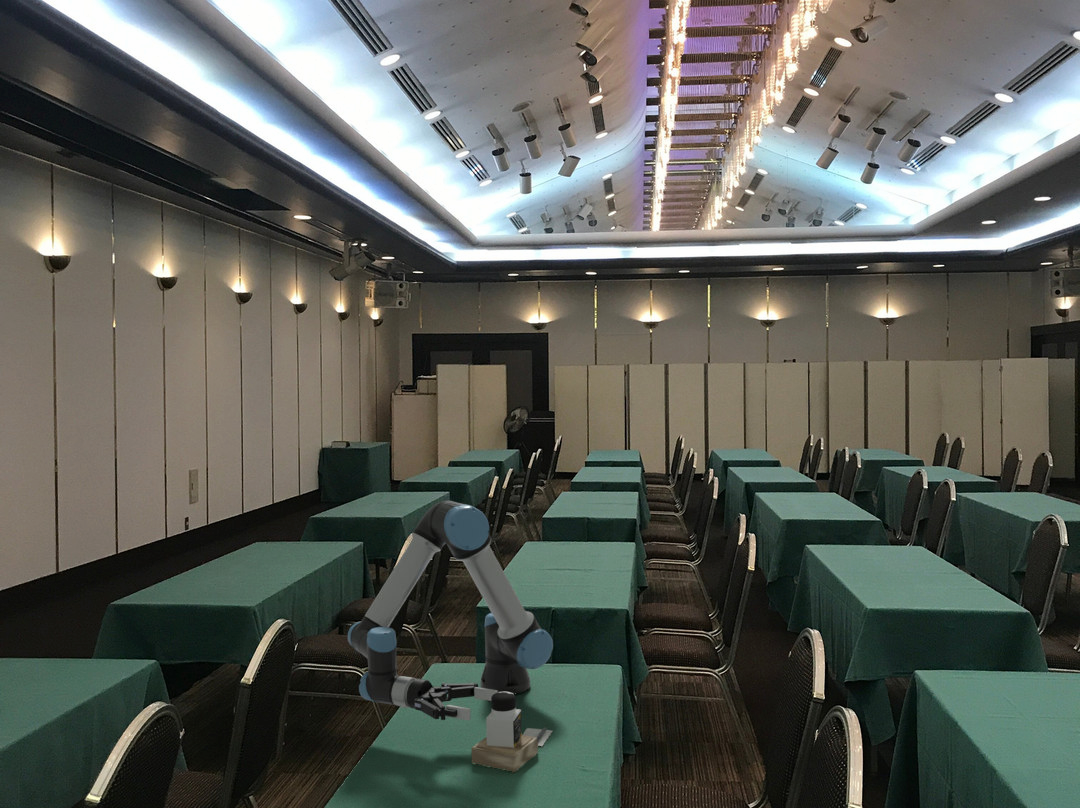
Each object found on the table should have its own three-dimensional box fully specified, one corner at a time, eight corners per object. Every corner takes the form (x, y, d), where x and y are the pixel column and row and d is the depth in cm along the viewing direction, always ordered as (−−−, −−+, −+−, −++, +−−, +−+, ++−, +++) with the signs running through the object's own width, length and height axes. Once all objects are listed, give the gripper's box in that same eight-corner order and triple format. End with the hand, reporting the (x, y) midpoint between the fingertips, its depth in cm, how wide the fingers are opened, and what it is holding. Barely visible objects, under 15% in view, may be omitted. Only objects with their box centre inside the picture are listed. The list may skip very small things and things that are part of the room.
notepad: (527, 731, 244) (527, 724, 244) (552, 734, 243) (552, 727, 242) (516, 746, 235) (516, 739, 235) (542, 749, 233) (542, 742, 233)
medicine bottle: (514, 748, 222) (513, 700, 222) (486, 746, 224) (485, 698, 223) (522, 736, 229) (520, 689, 229) (494, 734, 231) (493, 688, 230)
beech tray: (496, 745, 235) (496, 729, 235) (537, 753, 229) (537, 736, 229) (471, 763, 224) (471, 746, 224) (514, 772, 219) (514, 755, 218)
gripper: (439, 691, 250) (507, 702, 240) (385, 724, 227) (458, 738, 218) (438, 664, 249) (507, 674, 240) (384, 694, 227) (457, 707, 218)
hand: (483, 705), depth 229 cm, fingers open, 13 cm apart
